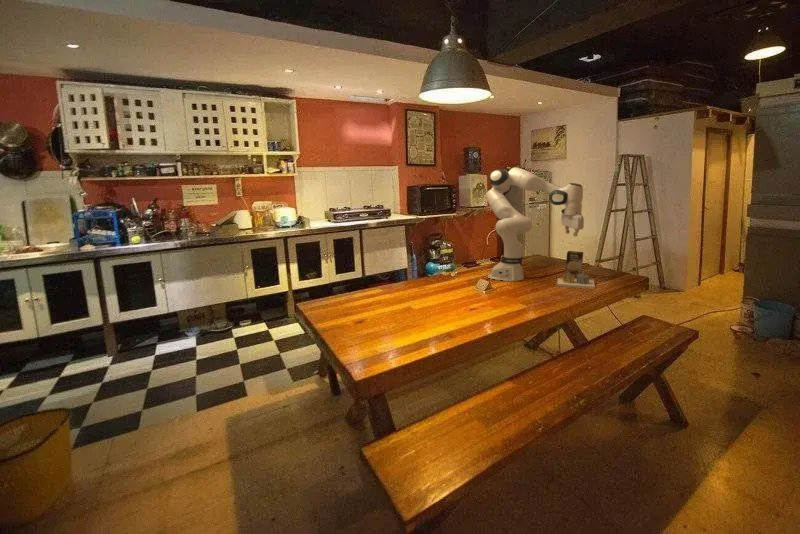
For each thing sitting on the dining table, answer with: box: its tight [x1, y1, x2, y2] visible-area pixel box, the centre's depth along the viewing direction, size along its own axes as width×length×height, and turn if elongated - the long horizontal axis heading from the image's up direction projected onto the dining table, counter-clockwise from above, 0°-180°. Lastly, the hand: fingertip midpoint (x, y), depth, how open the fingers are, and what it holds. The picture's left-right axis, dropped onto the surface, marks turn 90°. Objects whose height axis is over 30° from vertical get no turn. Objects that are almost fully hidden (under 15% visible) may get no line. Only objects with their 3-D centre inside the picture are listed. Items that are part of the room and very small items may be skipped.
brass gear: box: [562, 273, 576, 283], centre depth 235 cm, size 6×6×4 cm
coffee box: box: [564, 250, 584, 279], centre depth 249 cm, size 9×6×16 cm
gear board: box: [556, 272, 596, 290], centre depth 234 cm, size 20×13×7 cm, turn 67°
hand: (571, 234), depth 235 cm, fingers open, 8 cm apart
